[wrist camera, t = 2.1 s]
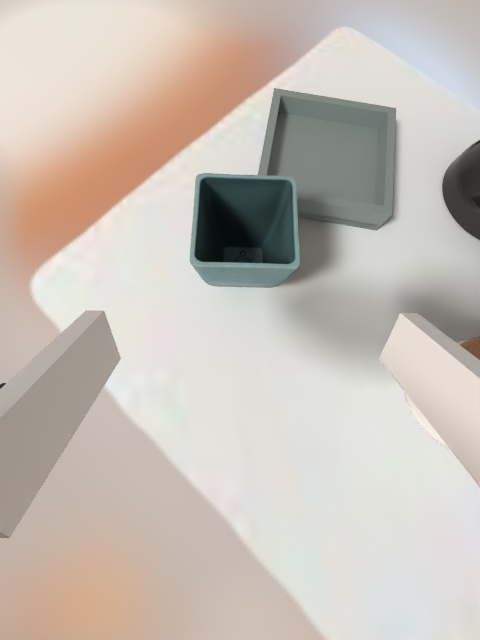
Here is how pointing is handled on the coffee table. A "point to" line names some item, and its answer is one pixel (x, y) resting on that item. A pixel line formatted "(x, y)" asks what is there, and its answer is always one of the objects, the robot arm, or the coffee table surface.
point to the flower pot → (245, 229)
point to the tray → (333, 156)
